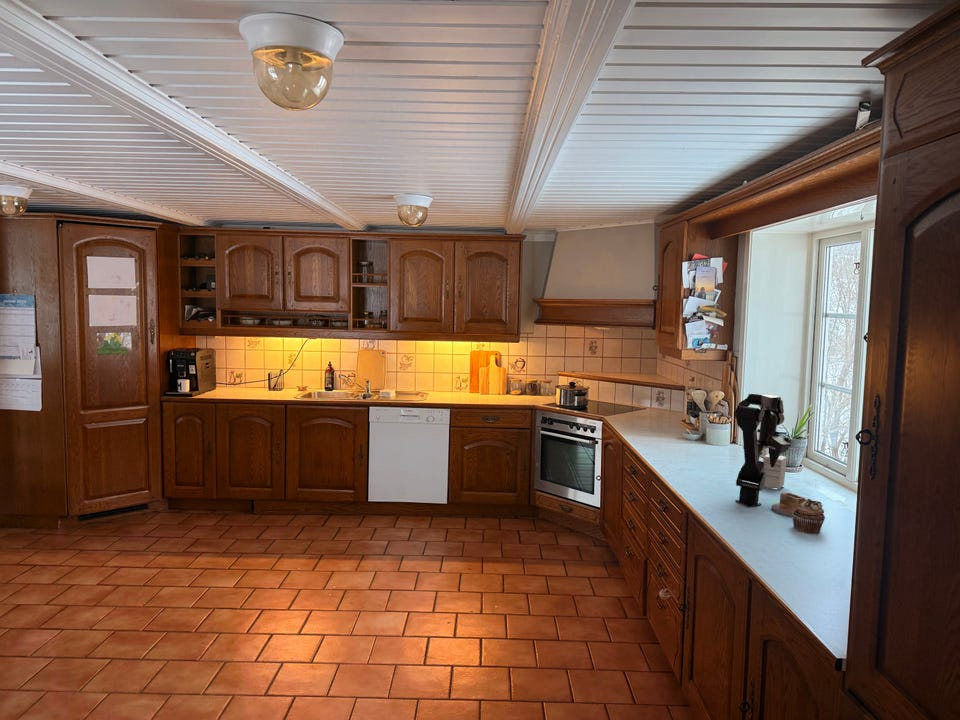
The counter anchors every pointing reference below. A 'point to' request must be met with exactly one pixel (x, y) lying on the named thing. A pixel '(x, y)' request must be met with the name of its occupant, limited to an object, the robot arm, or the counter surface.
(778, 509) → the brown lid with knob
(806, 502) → the cupcake
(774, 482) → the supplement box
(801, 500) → the walnut sleeve
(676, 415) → the counter surface
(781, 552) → the counter surface
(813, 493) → the counter surface
